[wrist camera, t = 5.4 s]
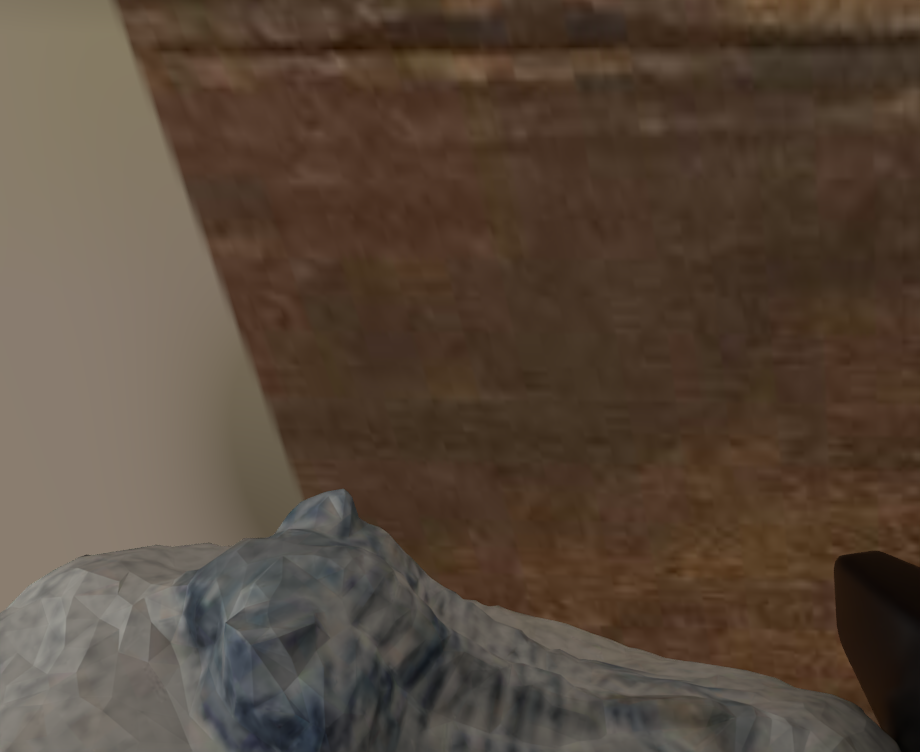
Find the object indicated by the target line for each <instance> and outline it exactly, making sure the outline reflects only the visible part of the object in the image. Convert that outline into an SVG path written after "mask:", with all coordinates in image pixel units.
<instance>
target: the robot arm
mask: <svg viewBox="0 0 920 752" xmlns="http://www.w3.org/2000/svg"><path fill="white" fill-rule="evenodd" d="M834 582H835V601H836V619H837V629H838V634H839V637H840V641H841V644H842V646H843V649H844V651H845V653H846V655H847V657H848V659H849V662H850V664H851V666H852V668H853V670H854V672H855V674H856V676H857V678H858V680H859V683H860V685H861V687H862V689H863V691H864V693H865V695H866V697H867V699H868V701H869V704H870V706H871V708H872V710H873V712H874V714H875V716H876V718H877V720H878V723H879V725H880V727H881V729H882V730H883V731H884V732H886V733H887V734H888V735H889V736H890V737H891V738H892V739H893V740H894V741H895V742H896V743H897V744H898V746H899V748H900V750H901V752H920V567H917V566H915V565H913V564H910V563H908V562H905V561H903V560H900V559H898V558H896V557H893V556H891V555H888V554H886V553H883V552H880V551H868V552H861V553H854V554H847V555H842V556H840V557H838V558H837V560H836V561H835V566H834Z"/></svg>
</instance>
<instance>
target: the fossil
mask: <svg viewBox="0 0 920 752" xmlns="http://www.w3.org/2000/svg"><path fill="white" fill-rule="evenodd" d="M0 752H901V750H900V748H899V746H898V744H897V743H896V742H895V741H894V740H893V739H892V738H891V737H890V736H889V735H888V734H887V733H886V732H884V731H883V730H882V729H881V728H880V727H879V726H878V725H877V724H876V723H875V722H873V721H872V720H871V719H870V718H869V717H868V716H867V715H866V714H865V713H864V711H863V710H862V709H861V708H860V707H858V706H857V705H855V704H854V703H852V702H849V701H847V700H844V699H842V698H839V697H837V696H834V695H831V694H826V693H821V692H815V691H810V690H804V689H799V688H795V687H793V686H791V685H789V684H787V683H785V682H783V681H781V680H779V679H777V678H773V677H769V676H765V675H762V674H758V673H754V672H750V671H747V670H741V669H734V668H728V667H721V666H715V665H709V664H702V663H696V662H686V661H681V660H674V659H668V658H663V657H660V656H658V655H655V654H652V653H649V652H646V651H643V650H640V649H635V648H629V647H626V646H624V645H622V644H619V643H617V642H615V641H613V640H610V639H607V638H604V637H601V636H598V635H595V634H592V633H589V632H587V631H584V630H581V629H578V628H576V627H573V626H571V625H568V624H566V623H561V622H557V621H552V620H547V619H542V618H537V617H533V616H529V615H525V614H521V613H517V612H513V611H510V610H507V609H505V608H502V607H500V606H492V607H489V606H485V605H482V604H480V603H479V602H477V601H476V600H463V599H462V598H461V597H460V596H459V595H458V594H456V593H455V592H453V591H451V590H449V589H447V588H445V587H443V586H442V585H440V584H439V583H437V582H436V581H434V580H433V579H431V578H430V577H429V576H428V575H427V574H426V573H425V572H424V571H423V570H422V568H421V567H420V566H419V565H418V564H417V563H416V562H415V561H414V560H413V559H412V558H411V557H410V556H409V555H407V554H406V553H405V552H404V551H403V549H402V548H401V547H400V546H399V545H398V544H397V543H396V542H395V541H394V539H393V538H392V537H391V536H390V535H389V534H388V533H387V532H386V531H384V530H383V529H381V528H380V527H377V526H374V525H370V524H368V523H366V522H365V521H363V520H362V519H360V518H359V517H358V514H357V511H356V508H355V505H354V502H353V499H352V497H351V495H350V494H349V493H348V492H347V491H346V490H344V489H339V490H334V491H328V492H324V493H322V494H319V495H317V496H314V497H312V498H309V499H307V500H304V501H302V502H300V503H299V504H298V505H297V506H296V507H295V508H294V509H293V510H292V511H291V512H290V513H289V514H288V516H287V517H286V518H285V520H284V521H283V523H282V524H281V525H280V527H279V528H278V530H277V531H276V533H275V534H274V535H273V536H270V537H268V538H244V539H242V540H241V541H239V542H238V543H237V544H235V545H234V546H219V545H215V544H212V543H203V544H194V545H185V546H176V547H171V546H161V545H154V546H147V547H141V548H135V549H129V550H123V551H116V552H110V553H103V554H97V555H84V556H82V557H79V558H77V559H75V560H73V561H71V562H69V563H67V564H65V565H63V566H61V567H59V568H57V569H55V570H53V571H52V572H50V573H49V574H47V575H46V576H44V577H42V578H41V579H39V580H38V581H36V582H34V583H33V584H31V585H30V586H28V587H27V588H26V589H25V590H24V591H23V592H22V593H21V595H19V596H18V597H17V598H16V599H15V600H14V601H13V602H12V603H11V604H10V605H9V606H8V607H7V608H6V609H5V610H4V611H3V612H1V613H0Z"/></svg>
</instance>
